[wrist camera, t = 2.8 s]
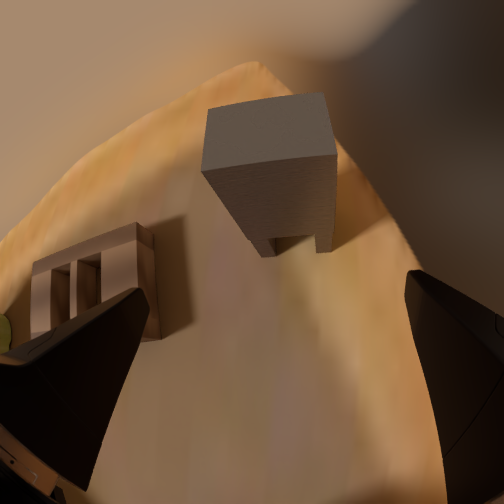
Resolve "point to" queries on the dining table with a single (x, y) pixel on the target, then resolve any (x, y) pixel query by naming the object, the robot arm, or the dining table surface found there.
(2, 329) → the plant pot
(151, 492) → the dining table surface
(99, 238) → the brown holed block
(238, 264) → the dining table surface
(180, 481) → the dining table surface
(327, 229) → the grey tall block
